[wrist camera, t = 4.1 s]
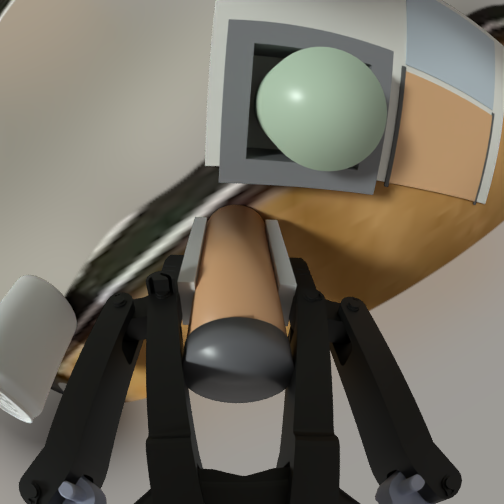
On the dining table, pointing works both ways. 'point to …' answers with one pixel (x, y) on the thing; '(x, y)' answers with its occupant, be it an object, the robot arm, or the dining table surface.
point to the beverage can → (32, 344)
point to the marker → (236, 314)
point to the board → (390, 78)
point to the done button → (322, 108)
